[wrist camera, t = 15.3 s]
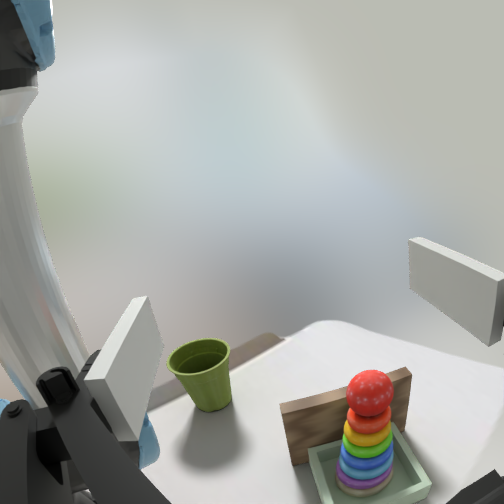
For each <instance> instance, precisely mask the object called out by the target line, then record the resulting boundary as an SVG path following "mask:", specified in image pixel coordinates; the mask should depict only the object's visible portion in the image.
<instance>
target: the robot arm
mask: <svg viewBox="0 0 504 504" xmlns="http://www.w3.org/2000/svg"><path fill="white" fill-rule="evenodd" d="M54 60H55V43H54V33H53V24H52V1H51V0H0V363H1V365H2V367H3V368H4V370H5V371H6V373H7V374H8V376H9V377H10V379H11V380H12V382H13V383H14V385H15V386H16V387H17V389H18V390H19V392H20V393H21V394H22V395H23V397H24V398H25V400H16V401H14V402H9V401H8V400H5V399H0V504H171V503H170V502H169V501H168V500H167V499H166V498H165V497H164V495H163V494H162V493H161V492H160V491H159V490H158V489H157V488H156V487H155V486H154V485H153V484H152V483H151V482H150V481H149V479H148V478H147V477H146V476H145V475H144V474H143V473H142V472H141V469H142V468H144V467H146V466H148V465H150V464H152V463H154V462H155V461H156V460H157V459H158V458H159V455H160V447H159V443H158V440H157V437H156V434H155V431H154V429H153V426H152V424H151V422H150V421H149V418H148V415H147V412H146V409H147V405H148V401H149V398H150V394H151V390H152V386H153V383H154V379H155V376H156V372H157V369H158V365H159V362H160V358H161V355H162V351H163V348H164V343H163V340H162V338H161V335H160V332H159V329H158V326H157V323H156V320H155V317H154V314H153V311H152V308H151V305H150V302H149V299H148V296H144V297H139V298H133V299H132V301H131V303H130V304H129V306H128V307H127V309H126V310H125V312H124V314H123V315H122V317H121V318H120V320H119V322H118V323H117V325H116V327H115V328H114V330H113V332H112V333H111V335H110V336H109V338H108V340H107V341H106V343H105V345H104V346H103V348H102V350H97V351H96V352H94V353H93V354H92V355H90V353H89V351H88V349H87V347H86V345H85V342H84V340H83V338H82V336H81V333H80V331H79V329H78V326H77V324H76V322H75V319H74V317H73V315H72V312H71V310H70V307H69V305H68V302H67V299H66V297H65V294H64V292H63V289H62V286H61V284H60V281H59V278H58V275H57V272H56V269H55V266H54V263H53V260H52V257H51V254H50V251H49V247H48V244H47V241H46V237H45V234H44V231H43V227H42V223H41V220H40V216H39V212H38V208H37V204H36V200H35V196H34V191H33V187H32V182H31V177H30V173H29V167H28V162H27V156H26V151H25V144H24V137H23V130H22V119H23V116H24V114H25V113H26V111H27V109H28V108H29V106H30V105H31V103H32V102H33V100H34V99H35V97H36V96H37V94H38V82H37V71H43V70H45V69H46V68H47V67H49V66H51V65H52V64H53V63H54ZM408 245H409V270H410V289H411V290H412V291H414V292H415V293H416V294H418V295H419V296H421V297H422V298H423V299H425V300H426V301H428V302H429V303H430V304H432V305H433V306H435V307H436V308H437V309H439V310H440V311H441V312H443V313H444V314H445V315H447V316H448V317H450V318H451V319H452V320H454V321H455V322H456V323H458V324H459V325H460V326H462V327H463V328H464V329H466V330H467V331H468V332H470V333H471V334H472V335H474V336H475V337H476V338H478V339H479V340H480V341H481V342H483V343H484V344H485V345H487V346H488V347H489V346H491V345H493V344H494V343H496V342H498V341H500V340H501V336H502V331H503V326H504V273H502V272H501V271H499V270H496V269H494V268H492V267H490V266H487V265H485V264H483V263H481V262H478V261H476V260H474V259H472V258H470V257H467V256H465V255H463V254H460V253H458V252H456V251H453V250H451V249H448V248H446V247H444V246H441V245H439V244H437V243H434V242H432V241H429V240H427V239H424V238H422V237H417V238H412V239H409V240H408ZM87 489H89V491H90V492H91V493H89V492H87V491H86V490H87ZM446 504H504V476H502V477H500V475H499V474H498V473H497V472H496V470H495V469H494V470H493V471H491V472H490V473H488V474H487V475H485V476H484V477H482V478H480V479H479V480H477V481H476V482H474V483H473V484H471V485H469V486H467V487H466V488H464V489H462V490H461V491H460V492H459V493H458V494H456V495H455V496H454V497H453V498H452V499H451V500H450V501H448V502H447V503H446Z"/></svg>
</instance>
